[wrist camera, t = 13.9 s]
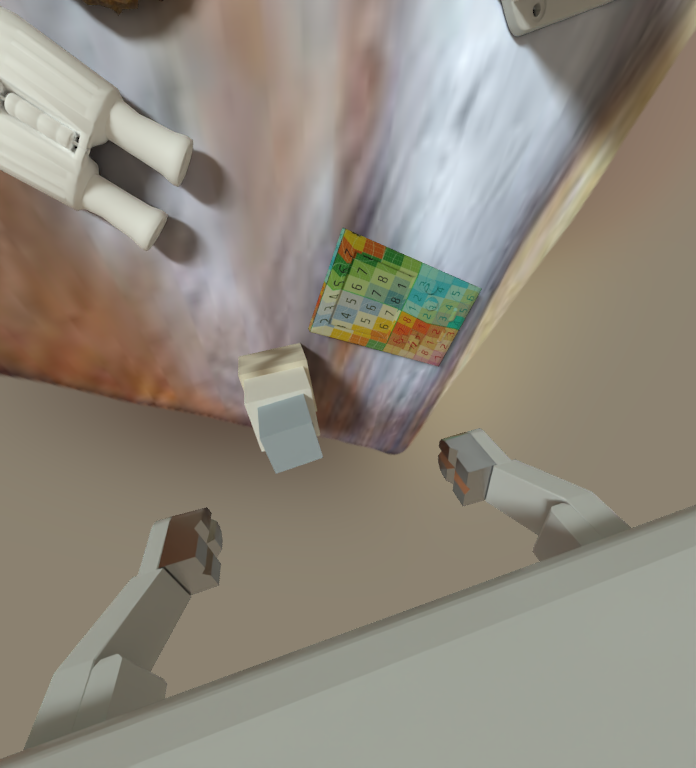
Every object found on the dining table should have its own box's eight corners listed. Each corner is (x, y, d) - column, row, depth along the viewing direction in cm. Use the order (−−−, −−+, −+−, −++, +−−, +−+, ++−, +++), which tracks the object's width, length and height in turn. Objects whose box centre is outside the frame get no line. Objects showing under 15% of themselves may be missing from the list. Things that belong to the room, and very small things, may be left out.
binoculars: (156, 249, 31) (145, 257, 28) (-75, 124, 23) (-137, 111, 20) (199, 145, 28) (193, 139, 24) (-51, -40, 20) (-118, -93, 16)
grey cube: (303, 393, 33) (311, 422, 29) (313, 427, 36) (323, 457, 32) (257, 407, 33) (259, 438, 29) (272, 441, 35) (275, 473, 31)
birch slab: (299, 342, 41) (306, 359, 37) (310, 391, 45) (317, 411, 41) (238, 356, 40) (238, 375, 35) (255, 405, 44) (257, 427, 40)
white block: (303, 366, 37) (310, 387, 33) (312, 411, 41) (320, 435, 37) (244, 379, 36) (244, 403, 32) (259, 424, 40) (261, 451, 36)
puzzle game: (442, 369, 44) (311, 334, 36) (426, 354, 48) (304, 320, 40) (486, 290, 40) (347, 229, 31) (464, 281, 43) (336, 225, 35)
